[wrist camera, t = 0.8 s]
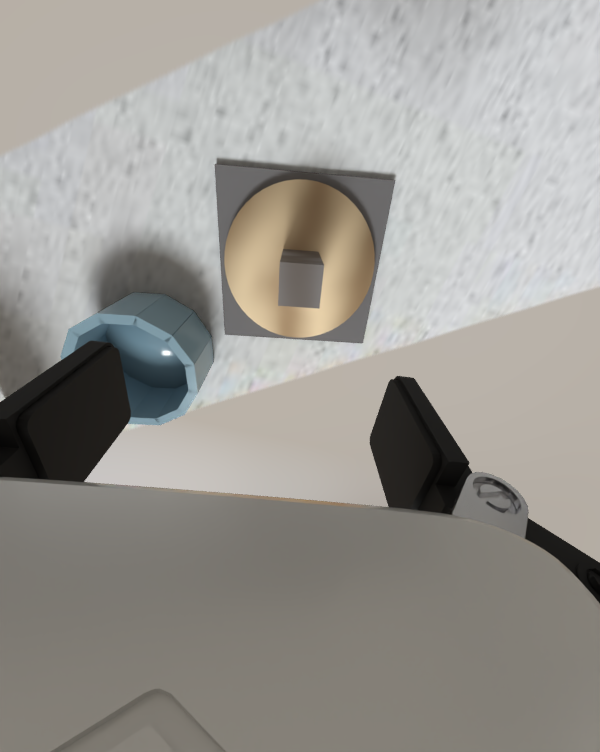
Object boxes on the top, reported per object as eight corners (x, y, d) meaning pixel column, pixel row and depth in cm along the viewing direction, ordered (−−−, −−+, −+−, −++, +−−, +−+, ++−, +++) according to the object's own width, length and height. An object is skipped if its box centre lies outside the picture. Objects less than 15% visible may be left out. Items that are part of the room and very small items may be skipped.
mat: (393, 180, 24) (395, 180, 23) (361, 341, 31) (362, 343, 30) (216, 164, 23) (214, 164, 23) (226, 332, 30) (225, 334, 30)
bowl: (208, 297, 28) (188, 319, 23) (216, 392, 34) (202, 427, 29) (89, 289, 28) (42, 309, 23) (117, 387, 33) (85, 421, 28)
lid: (387, 187, 23) (417, 183, 18) (358, 338, 30) (373, 372, 24) (221, 172, 23) (196, 163, 17) (229, 330, 30) (213, 362, 24)
